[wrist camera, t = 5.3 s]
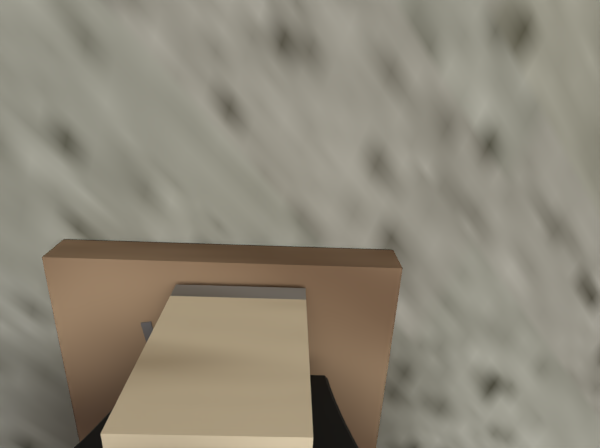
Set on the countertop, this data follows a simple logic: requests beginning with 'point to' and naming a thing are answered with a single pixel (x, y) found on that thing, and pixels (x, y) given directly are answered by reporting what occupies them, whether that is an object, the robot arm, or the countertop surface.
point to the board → (221, 272)
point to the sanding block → (220, 373)
